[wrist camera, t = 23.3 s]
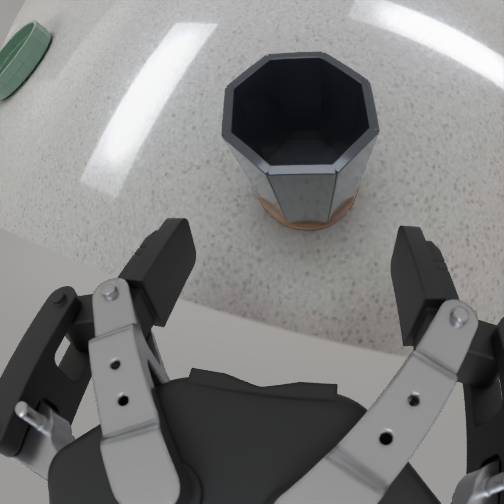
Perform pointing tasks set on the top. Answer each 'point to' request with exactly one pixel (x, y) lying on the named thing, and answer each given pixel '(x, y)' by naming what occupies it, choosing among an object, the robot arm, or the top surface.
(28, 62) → the bowl
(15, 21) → the top surface
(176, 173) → the top surface
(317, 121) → the cup
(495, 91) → the top surface
